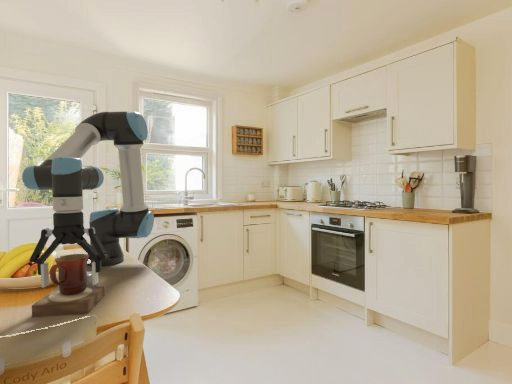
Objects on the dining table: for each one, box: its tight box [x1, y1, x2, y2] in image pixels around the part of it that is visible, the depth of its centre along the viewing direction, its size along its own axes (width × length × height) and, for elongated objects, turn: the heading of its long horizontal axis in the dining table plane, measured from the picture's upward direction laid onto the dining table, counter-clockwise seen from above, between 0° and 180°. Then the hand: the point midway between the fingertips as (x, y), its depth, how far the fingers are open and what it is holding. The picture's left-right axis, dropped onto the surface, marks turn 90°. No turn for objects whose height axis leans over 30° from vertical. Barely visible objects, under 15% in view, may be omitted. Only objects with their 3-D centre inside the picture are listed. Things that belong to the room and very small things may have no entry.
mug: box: [49, 253, 89, 295], centre depth 94 cm, size 12×9×10 cm
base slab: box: [31, 285, 105, 318], centre depth 94 cm, size 14×14×3 cm
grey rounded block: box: [87, 270, 99, 287], centre depth 112 cm, size 7×7×4 cm
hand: (70, 284), depth 94 cm, fingers open, 13 cm apart
